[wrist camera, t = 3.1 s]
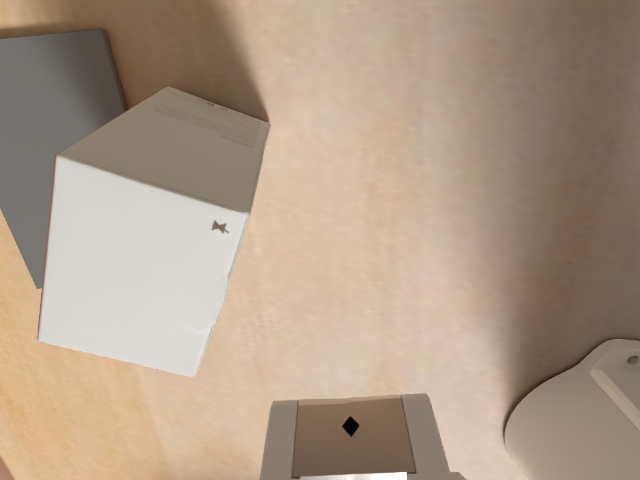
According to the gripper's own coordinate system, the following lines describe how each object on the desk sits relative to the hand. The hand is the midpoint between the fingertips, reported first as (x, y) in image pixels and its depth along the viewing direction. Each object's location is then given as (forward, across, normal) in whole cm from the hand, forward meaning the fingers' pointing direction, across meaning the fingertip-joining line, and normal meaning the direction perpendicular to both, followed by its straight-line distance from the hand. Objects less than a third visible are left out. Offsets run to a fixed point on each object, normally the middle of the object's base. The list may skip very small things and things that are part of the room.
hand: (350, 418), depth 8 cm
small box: (+20, +8, 0) cm, 22 cm away
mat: (+20, +17, 0) cm, 26 cm away
